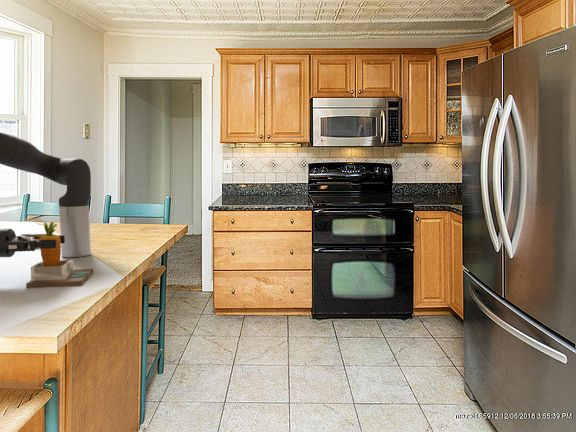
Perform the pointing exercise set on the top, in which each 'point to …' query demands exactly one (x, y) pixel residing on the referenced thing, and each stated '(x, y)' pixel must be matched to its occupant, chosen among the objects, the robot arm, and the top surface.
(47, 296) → the top surface
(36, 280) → the socket board
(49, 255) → the carrot
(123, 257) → the top surface
